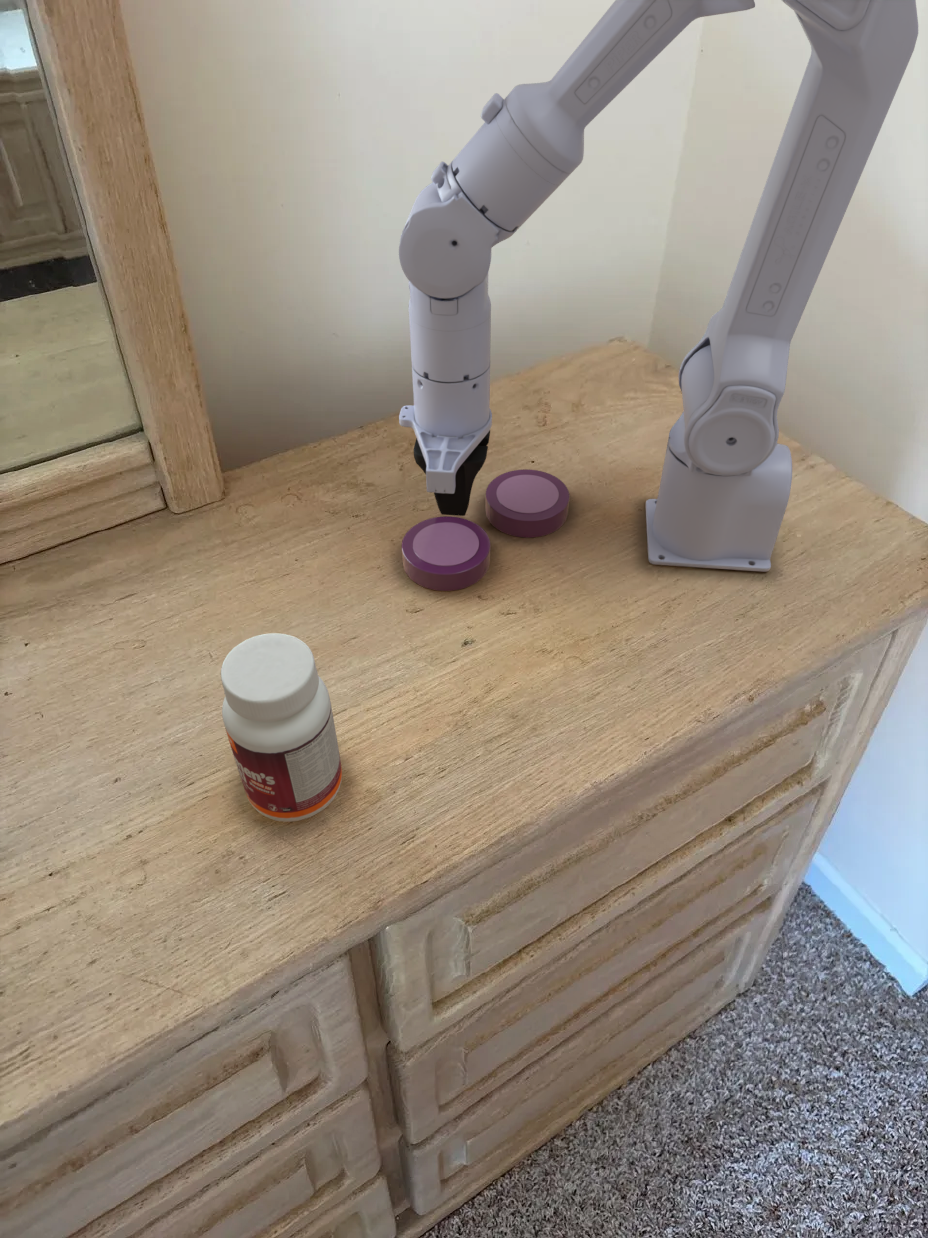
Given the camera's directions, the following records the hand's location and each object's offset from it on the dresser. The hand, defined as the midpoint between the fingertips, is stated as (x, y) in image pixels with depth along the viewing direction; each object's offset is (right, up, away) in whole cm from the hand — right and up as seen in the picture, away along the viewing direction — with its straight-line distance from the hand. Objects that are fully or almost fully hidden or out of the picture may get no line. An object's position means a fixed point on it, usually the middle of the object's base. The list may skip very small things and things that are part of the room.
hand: (453, 510), depth 75 cm
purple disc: (-1, -4, -3) cm, 5 cm away
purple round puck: (+6, 0, +1) cm, 6 cm away
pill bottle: (-10, -20, -18) cm, 28 cm away
